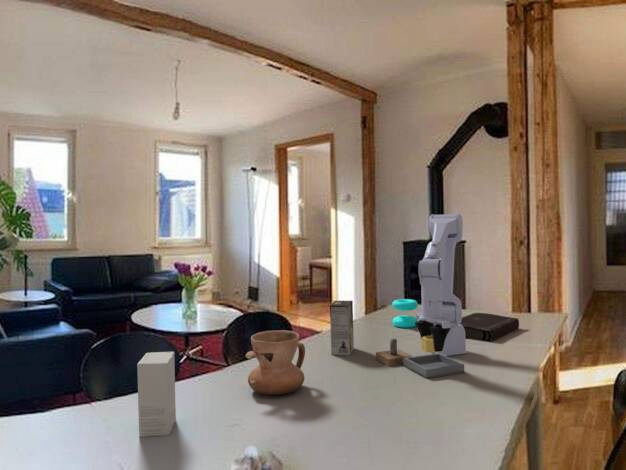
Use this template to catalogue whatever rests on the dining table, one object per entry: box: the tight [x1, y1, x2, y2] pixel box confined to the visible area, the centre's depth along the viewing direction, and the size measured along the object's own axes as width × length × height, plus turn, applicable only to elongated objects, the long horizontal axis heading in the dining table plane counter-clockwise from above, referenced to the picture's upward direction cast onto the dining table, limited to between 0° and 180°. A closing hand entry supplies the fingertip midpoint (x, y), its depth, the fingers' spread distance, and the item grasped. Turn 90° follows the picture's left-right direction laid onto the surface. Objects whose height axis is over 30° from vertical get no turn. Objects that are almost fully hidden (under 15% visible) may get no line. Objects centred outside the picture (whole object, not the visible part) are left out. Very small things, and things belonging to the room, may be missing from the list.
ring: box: [421, 335, 442, 354], centre depth 142 cm, size 5×5×4 cm
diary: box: [460, 312, 520, 343], centre depth 185 cm, size 19×25×5 cm
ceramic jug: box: [245, 329, 306, 396], centre depth 129 cm, size 18×14×14 cm
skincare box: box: [136, 351, 177, 438], centre depth 107 cm, size 8×7×16 cm
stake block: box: [375, 338, 413, 367], centre depth 151 cm, size 8×8×6 cm
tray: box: [402, 353, 465, 379], centre depth 142 cm, size 12×12×2 cm
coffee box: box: [329, 300, 355, 356], centre depth 163 cm, size 9×6×16 cm
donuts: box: [391, 298, 419, 329], centre depth 198 cm, size 10×10×10 cm
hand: (432, 348), depth 142 cm, fingers closed on ring, 5 cm apart
